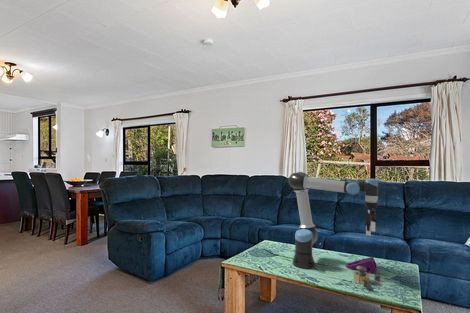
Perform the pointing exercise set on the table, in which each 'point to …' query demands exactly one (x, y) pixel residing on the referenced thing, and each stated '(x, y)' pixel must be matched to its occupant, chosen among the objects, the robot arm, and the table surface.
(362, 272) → the base
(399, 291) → the table surface
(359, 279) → the collar
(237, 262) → the table surface
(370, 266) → the mounting bracket
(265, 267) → the table surface
